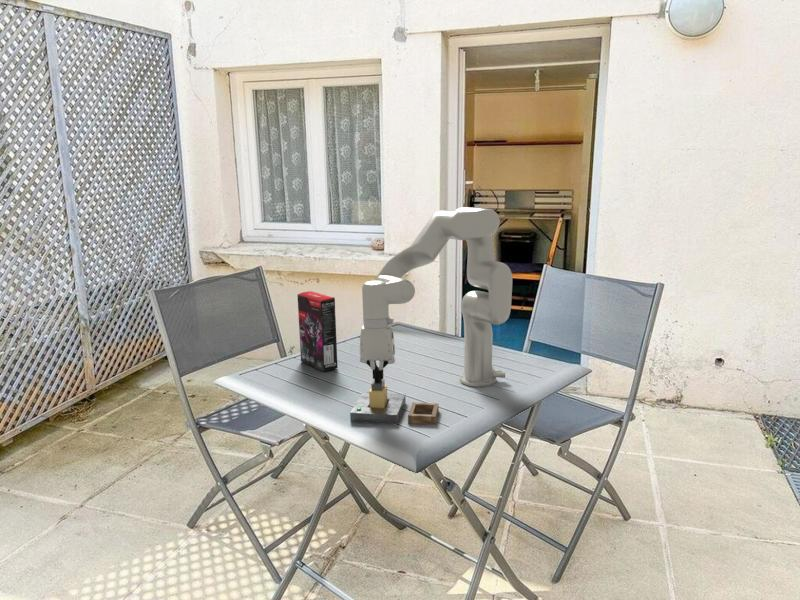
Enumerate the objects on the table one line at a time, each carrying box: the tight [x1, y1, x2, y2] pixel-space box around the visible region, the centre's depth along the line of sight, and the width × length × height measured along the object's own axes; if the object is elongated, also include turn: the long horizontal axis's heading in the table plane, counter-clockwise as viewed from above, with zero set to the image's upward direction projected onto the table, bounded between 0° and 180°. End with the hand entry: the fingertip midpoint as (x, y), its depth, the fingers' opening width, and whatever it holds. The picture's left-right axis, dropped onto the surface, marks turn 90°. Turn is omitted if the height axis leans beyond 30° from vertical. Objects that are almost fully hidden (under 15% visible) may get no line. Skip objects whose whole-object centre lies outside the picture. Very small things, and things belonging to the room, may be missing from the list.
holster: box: [407, 402, 440, 426], centre depth 179 cm, size 8×10×2 cm
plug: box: [368, 378, 388, 408], centre depth 182 cm, size 4×6×10 cm
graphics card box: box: [296, 290, 338, 372], centre depth 223 cm, size 17×7×27 cm, turn 40°
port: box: [349, 391, 407, 425], centre depth 183 cm, size 14×16×3 cm
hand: (378, 381), depth 181 cm, fingers closed
